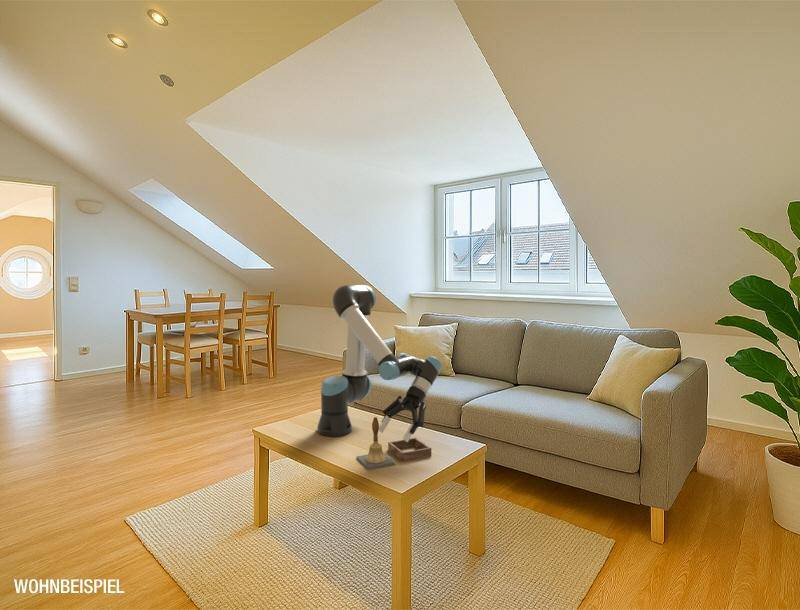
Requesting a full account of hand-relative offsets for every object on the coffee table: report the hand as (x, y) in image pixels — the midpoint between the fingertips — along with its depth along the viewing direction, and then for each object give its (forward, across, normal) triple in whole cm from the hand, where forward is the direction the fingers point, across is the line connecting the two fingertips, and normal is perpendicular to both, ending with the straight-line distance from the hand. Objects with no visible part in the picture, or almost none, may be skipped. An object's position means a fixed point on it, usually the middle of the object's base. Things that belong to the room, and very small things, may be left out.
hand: (392, 435), depth 183 cm
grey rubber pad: (+12, 0, +1) cm, 12 cm away
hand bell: (+11, 0, +1) cm, 11 cm away
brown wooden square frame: (+1, -3, -10) cm, 11 cm away
